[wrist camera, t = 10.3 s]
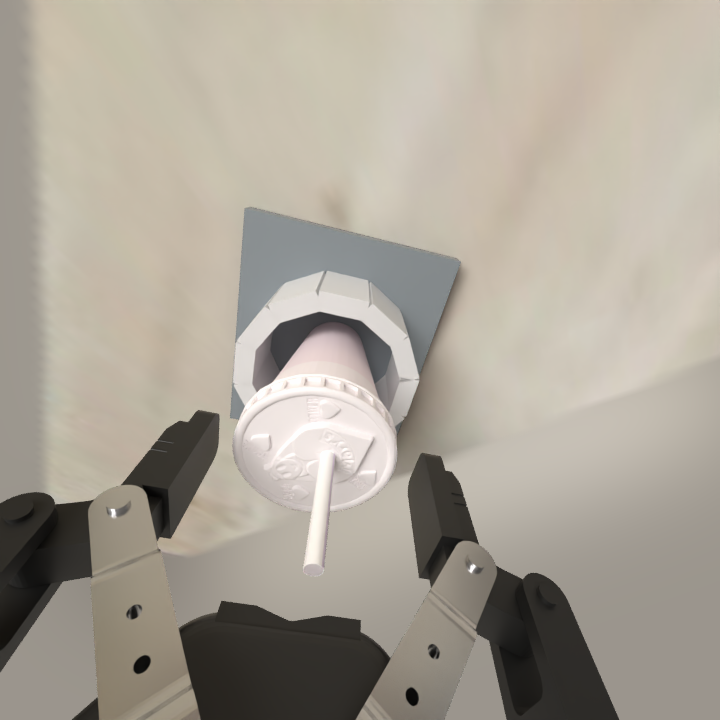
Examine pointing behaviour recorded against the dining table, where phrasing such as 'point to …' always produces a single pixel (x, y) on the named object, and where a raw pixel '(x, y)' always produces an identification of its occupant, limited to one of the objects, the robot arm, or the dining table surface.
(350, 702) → the robot arm
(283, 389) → the smoothie
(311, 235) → the holder
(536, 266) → the dining table surface
